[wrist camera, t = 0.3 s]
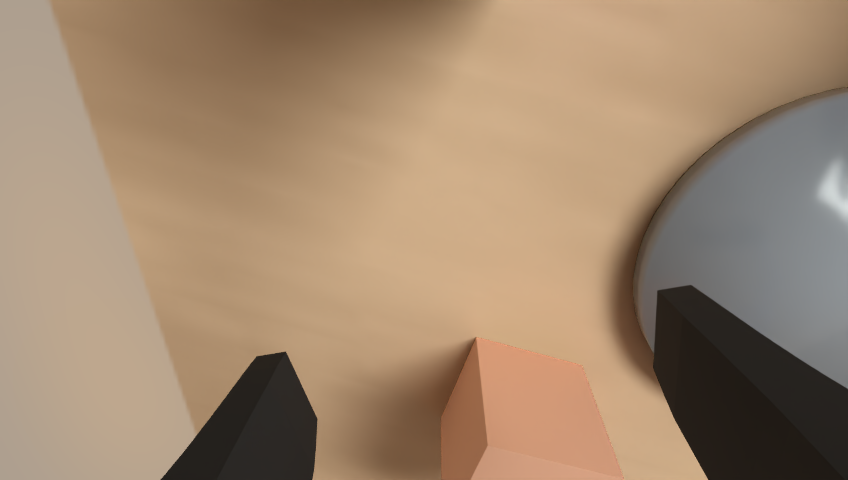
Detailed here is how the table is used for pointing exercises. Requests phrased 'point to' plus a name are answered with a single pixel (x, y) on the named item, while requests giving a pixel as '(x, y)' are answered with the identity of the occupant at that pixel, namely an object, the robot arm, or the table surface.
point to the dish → (763, 232)
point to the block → (523, 420)
